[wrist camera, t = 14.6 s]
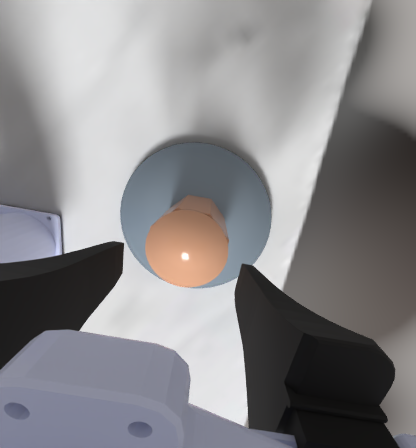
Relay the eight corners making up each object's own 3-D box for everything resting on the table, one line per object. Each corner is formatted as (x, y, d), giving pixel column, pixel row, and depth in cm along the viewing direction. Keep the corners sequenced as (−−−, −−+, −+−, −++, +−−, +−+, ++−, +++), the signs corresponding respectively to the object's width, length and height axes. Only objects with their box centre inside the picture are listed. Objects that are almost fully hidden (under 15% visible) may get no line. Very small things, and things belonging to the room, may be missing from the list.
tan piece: (164, 244, 22) (142, 280, 15) (170, 190, 20) (148, 203, 13) (217, 253, 22) (219, 293, 15) (228, 201, 20) (236, 218, 13)
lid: (121, 271, 24) (117, 275, 23) (128, 129, 19) (124, 128, 18) (249, 293, 24) (251, 298, 23) (286, 159, 20) (290, 159, 19)
